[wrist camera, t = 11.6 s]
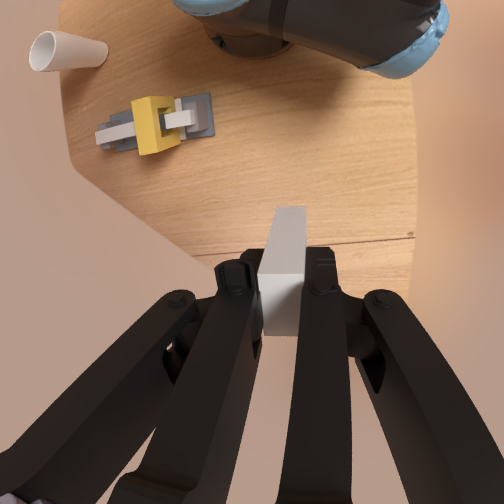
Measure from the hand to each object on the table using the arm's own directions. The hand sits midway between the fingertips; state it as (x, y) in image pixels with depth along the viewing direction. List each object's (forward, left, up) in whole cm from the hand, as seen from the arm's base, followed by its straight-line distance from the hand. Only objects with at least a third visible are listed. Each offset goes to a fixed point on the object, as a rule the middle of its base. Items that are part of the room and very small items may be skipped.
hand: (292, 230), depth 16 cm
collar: (-6, -20, -30) cm, 37 cm away
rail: (-7, -23, -32) cm, 40 cm away
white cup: (-23, -34, -33) cm, 52 cm away
